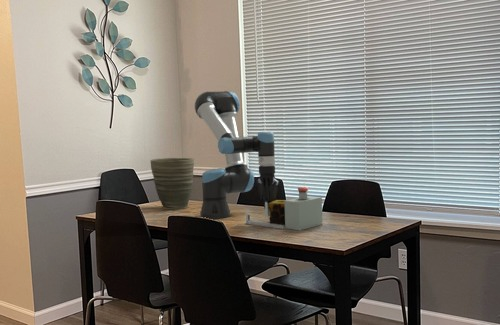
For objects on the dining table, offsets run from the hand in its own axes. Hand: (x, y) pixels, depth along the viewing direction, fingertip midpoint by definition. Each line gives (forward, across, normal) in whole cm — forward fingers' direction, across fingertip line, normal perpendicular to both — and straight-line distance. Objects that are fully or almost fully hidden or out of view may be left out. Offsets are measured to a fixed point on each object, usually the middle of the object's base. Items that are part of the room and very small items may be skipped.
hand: (268, 215), depth 262 cm
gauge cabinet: (+3, +21, 0) cm, 21 cm away
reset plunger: (-6, +21, 0) cm, 22 cm away
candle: (+3, +9, 0) cm, 9 cm away
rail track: (+3, +6, 0) cm, 6 cm away
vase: (+2, -72, +2) cm, 72 cm away
